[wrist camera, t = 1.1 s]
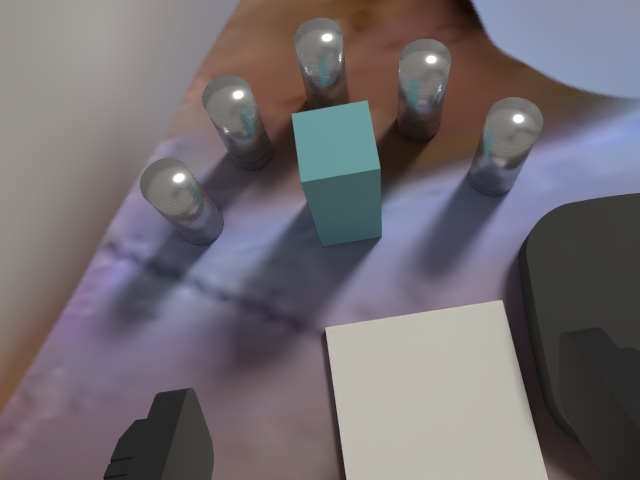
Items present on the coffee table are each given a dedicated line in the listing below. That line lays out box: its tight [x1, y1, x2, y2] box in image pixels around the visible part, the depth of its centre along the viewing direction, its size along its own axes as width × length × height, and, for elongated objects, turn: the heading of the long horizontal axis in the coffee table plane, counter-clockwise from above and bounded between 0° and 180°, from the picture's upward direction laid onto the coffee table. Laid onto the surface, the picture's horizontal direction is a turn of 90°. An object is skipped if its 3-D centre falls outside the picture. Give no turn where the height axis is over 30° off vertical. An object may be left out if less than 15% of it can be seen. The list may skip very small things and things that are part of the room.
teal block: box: [292, 101, 382, 247], centre depth 33 cm, size 4×4×10 cm
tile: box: [325, 300, 548, 480], centre depth 33 cm, size 11×11×1 cm
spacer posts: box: [140, 18, 543, 245], centre depth 36 cm, size 23×11×7 cm, turn 98°
